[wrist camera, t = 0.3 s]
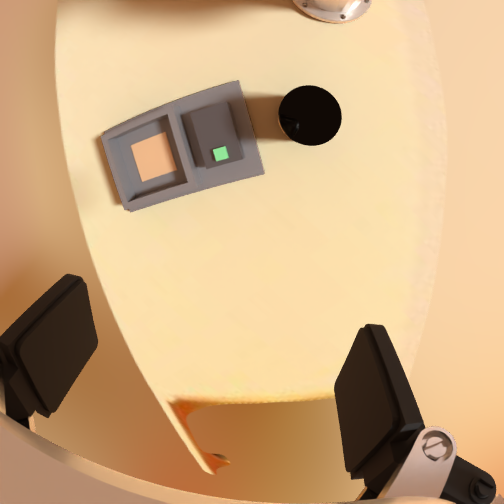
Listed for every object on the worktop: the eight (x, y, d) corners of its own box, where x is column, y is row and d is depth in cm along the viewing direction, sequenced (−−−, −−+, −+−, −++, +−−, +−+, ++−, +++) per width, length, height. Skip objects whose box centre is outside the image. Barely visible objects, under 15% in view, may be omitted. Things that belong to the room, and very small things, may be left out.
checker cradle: (107, 131, 39) (91, 133, 35) (239, 81, 35) (234, 75, 31) (132, 210, 44) (120, 219, 40) (264, 172, 41) (263, 178, 36)
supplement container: (316, 148, 39) (330, 155, 29) (271, 132, 38) (270, 133, 29) (331, 106, 36) (350, 99, 26) (286, 89, 36) (289, 76, 26)
